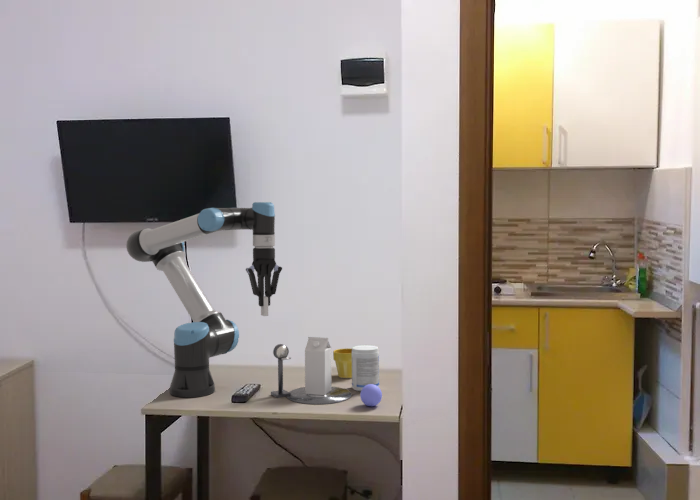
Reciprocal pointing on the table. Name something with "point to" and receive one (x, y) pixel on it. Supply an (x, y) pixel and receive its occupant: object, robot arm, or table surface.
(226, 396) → the table surface
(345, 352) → the plant pot
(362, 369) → the supplement tub
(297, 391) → the turntable
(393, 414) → the table surface
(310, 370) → the milk carton
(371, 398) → the sphere
